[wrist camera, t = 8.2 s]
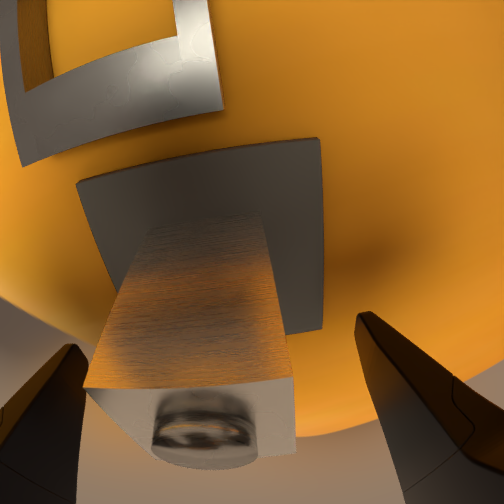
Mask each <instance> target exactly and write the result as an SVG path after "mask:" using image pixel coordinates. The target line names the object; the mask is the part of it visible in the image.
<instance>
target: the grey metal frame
mask: <svg viewBox="0 0 504 504" xmlns="http://www.w3.org/2000/svg"><path fill="white" fill-rule="evenodd" d="M173 7H174V14H175V21H176V28H177V35H178V36H173V37H169V38H165V39H161V40H157V41H153V42H150V43H146V44H143V45H139V46H136V47H132V48H129V49H126V50H123V51H120V52H117V53H114V54H111V55H108V56H106V57H103V58H100V59H98V60H95V61H92V62H90V63H87V64H85V65H82V66H80V67H78V68H75V69H73V70H71V71H68V72H66V73H64V74H62V75H60V76H57V77H55V78H53V72H52V65H51V57H50V49H49V40H48V29H47V15H46V0H0V53H1V64H2V73H3V81H4V88H5V94H6V100H7V106H8V111H9V116H10V121H11V125H12V130H13V134H14V138H15V142H16V146H17V150H18V154H19V157H20V161H21V164H22V167H25V166H27V165H29V164H32V163H34V162H37V161H39V160H42V159H44V158H47V157H49V156H52V155H54V154H57V153H60V152H62V151H65V150H68V149H71V148H73V147H76V146H79V145H82V144H85V143H88V142H91V141H94V140H97V139H101V138H104V137H107V136H110V135H114V134H117V133H121V132H124V131H128V130H132V129H135V128H139V127H143V126H147V125H151V124H155V123H159V122H164V121H168V120H173V119H177V118H182V117H187V116H192V115H197V114H203V113H208V112H214V111H220V110H224V107H225V101H224V95H223V88H222V82H221V75H220V68H219V62H218V55H217V49H216V42H215V35H214V29H213V22H212V16H211V9H210V2H209V0H173Z"/></svg>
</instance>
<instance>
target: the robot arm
mask: <svg viewBox="0 0 504 504" xmlns="http://www.w3.org/2000/svg"><path fill="white" fill-rule="evenodd" d="M354 336H355V341H356V345H357V349H358V353H359V357H360V361H361V365H362V369H363V373H364V377H365V381H366V384H367V387H368V390H369V393H370V395H371V398H372V401H373V404H374V406H375V409H376V412H377V415H378V418H379V420H380V424H381V426H382V429H383V432H384V435H385V438H386V441H387V444H388V447H389V450H390V453H391V457H392V460H393V463H394V466H395V469H396V472H397V475H398V479H399V482H400V485H401V489H402V492H403V496H404V500H405V503H406V504H504V410H503V409H501V408H500V407H498V406H497V405H495V404H493V403H492V402H490V401H489V400H487V399H486V398H484V397H483V396H481V395H480V394H478V393H477V392H475V391H474V390H472V389H471V388H470V387H469V386H467V385H466V384H465V383H463V382H462V381H461V380H460V379H458V378H457V377H456V376H453V374H452V373H451V372H449V371H448V370H447V369H446V368H444V367H443V366H442V365H441V364H439V363H438V362H437V361H435V360H434V359H433V358H432V357H430V356H429V355H428V354H426V353H425V352H424V351H423V350H421V349H420V348H419V347H417V346H416V345H415V344H414V343H412V342H411V341H410V340H408V339H407V338H406V337H404V336H403V335H402V334H401V333H399V332H398V331H397V330H395V329H394V328H393V327H391V326H390V325H389V324H387V323H386V322H385V321H384V320H382V319H381V318H380V317H378V316H377V315H376V314H374V313H373V312H371V311H366V312H361V313H358V314H357V317H356V324H355V331H354ZM88 367H89V364H88V360H87V358H86V356H85V355H84V354H83V352H82V351H81V349H80V348H79V346H78V345H76V344H65V345H64V346H63V347H62V348H61V349H60V350H59V351H58V352H57V353H55V355H53V356H52V357H51V358H50V359H49V360H48V361H47V362H46V363H45V364H44V365H43V366H42V367H41V368H40V369H39V370H38V371H37V372H36V373H35V374H34V375H33V376H32V377H31V378H30V379H29V380H28V381H27V382H26V383H25V384H24V385H23V386H22V387H21V388H20V389H19V390H18V391H17V392H16V393H15V395H13V397H11V398H10V399H9V401H8V402H7V403H6V404H5V405H4V407H2V408H1V409H0V504H76V491H77V473H78V461H79V450H80V441H81V431H82V425H83V417H84V410H85V403H86V391H85V389H84V388H83V384H84V381H85V378H86V375H87V372H88Z"/></svg>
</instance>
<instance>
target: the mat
mask: <svg viewBox="0 0 504 504" xmlns="http://www.w3.org/2000/svg"><path fill="white" fill-rule="evenodd" d="M76 188H77V191H78V194H79V197H80V200H81V203H82V206H83V209H84V212H85V214H86V217H87V220H88V223H89V225H90V228H91V231H92V234H93V236H94V239H95V241H96V244H97V246H98V249H99V251H100V254H101V256H102V259H103V261H104V263H105V266H106V268H107V271H108V273H109V275H110V277H111V280H112V282H113V284H114V286H115V289H116V291H117V293H119V290H120V288H121V286H122V283H123V281H124V279H125V277H126V274H127V272H128V270H129V268H130V266H131V264H132V261H133V259H134V257H135V255H136V253H137V251H138V249H139V247H140V245H141V243H142V241H143V239H144V236H145V234H146V232H147V230H148V228H153V227H158V226H164V225H170V224H176V223H182V222H188V221H194V220H200V219H206V218H213V217H219V216H226V215H232V214H239V213H246V212H253V211H260V214H261V218H262V223H263V228H264V233H265V237H266V242H267V247H268V252H269V257H270V262H271V267H272V271H273V276H274V281H275V286H276V291H277V296H278V301H279V306H280V311H281V316H282V322H283V327H284V332H285V335H290V334H296V333H302V332H308V331H314V330H320V329H322V321H323V285H324V224H323V188H322V166H321V149H320V139H318V138H317V137H316V138H304V139H293V140H283V141H274V142H266V143H258V144H250V145H243V146H236V147H230V148H223V149H217V150H211V151H205V152H199V153H194V154H189V155H183V156H178V157H173V158H168V159H164V160H159V161H154V162H150V163H146V164H141V165H137V166H133V167H129V168H125V169H121V170H117V171H113V172H109V173H105V174H102V175H98V176H94V177H91V178H87V179H84V180H80V181H79V182H78V183H76Z"/></svg>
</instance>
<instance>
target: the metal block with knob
mask: <svg viewBox="0 0 504 504" xmlns="http://www.w3.org/2000/svg"><path fill="white" fill-rule="evenodd" d="M83 388H84V389H85V391H86V392H87V393H88V394H89V395H90V396H91V397H92V399H93V400H94V401H95V402H96V403H97V404H98V405H99V406H100V407H101V408H102V409H103V410H104V411H105V412H106V414H107V415H108V416H109V417H110V418H111V419H112V420H113V421H114V422H116V424H117V425H118V426H119V427H120V428H121V429H122V430H123V431H125V433H126V434H128V435H129V436H130V437H131V438H132V439H133V440H134V441H135V442H136V443H137V444H138V445H139V446H141V447H142V448H143V449H144V450H145V451H146V452H147V453H149V454H150V455H151V456H152V457H153V458H155V459H156V460H164V461H166V462H168V463H172V464H174V465H178V466H182V467H187V468H193V469H201V470H222V469H223V470H224V469H231V468H237V467H241V466H244V465H247V464H249V463H251V462H253V461H254V460H255V459H257V458H261V457H270V456H278V455H286V454H292V453H296V432H295V406H294V385H293V374H292V368H291V363H290V358H289V352H288V347H287V342H286V337H285V332H284V327H283V322H282V316H281V311H280V306H279V301H278V296H277V291H276V286H275V281H274V276H273V271H272V267H271V262H270V257H269V252H268V247H267V242H266V237H265V233H264V228H263V223H262V218H261V214H260V211H253V212H246V213H239V214H232V215H226V216H219V217H213V218H206V219H200V220H194V221H188V222H182V223H176V224H170V225H164V226H158V227H153V228H148V230H147V232H146V234H145V236H144V239H143V241H142V243H141V245H140V247H139V249H138V251H137V253H136V255H135V257H134V259H133V261H132V264H131V266H130V268H129V270H128V272H127V274H126V277H125V279H124V281H123V283H122V286H121V288H120V290H119V293H118V295H117V297H116V300H115V302H114V304H113V307H112V309H111V311H110V314H109V316H108V319H107V321H106V324H105V326H104V329H103V331H102V334H101V337H100V339H99V342H98V345H97V347H96V350H95V353H94V355H93V358H92V361H91V364H90V367H89V370H88V372H87V375H86V378H85V381H84V384H83Z"/></svg>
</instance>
